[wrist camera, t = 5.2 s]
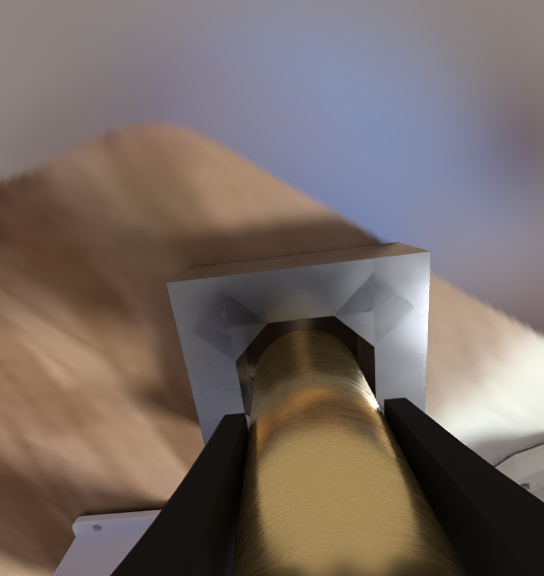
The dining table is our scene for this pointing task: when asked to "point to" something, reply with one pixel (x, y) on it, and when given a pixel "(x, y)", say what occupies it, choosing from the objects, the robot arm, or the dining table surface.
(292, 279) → the jig
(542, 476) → the mechanical component
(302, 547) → the brass cylinder rod
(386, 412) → the robot arm
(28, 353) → the dining table surface
